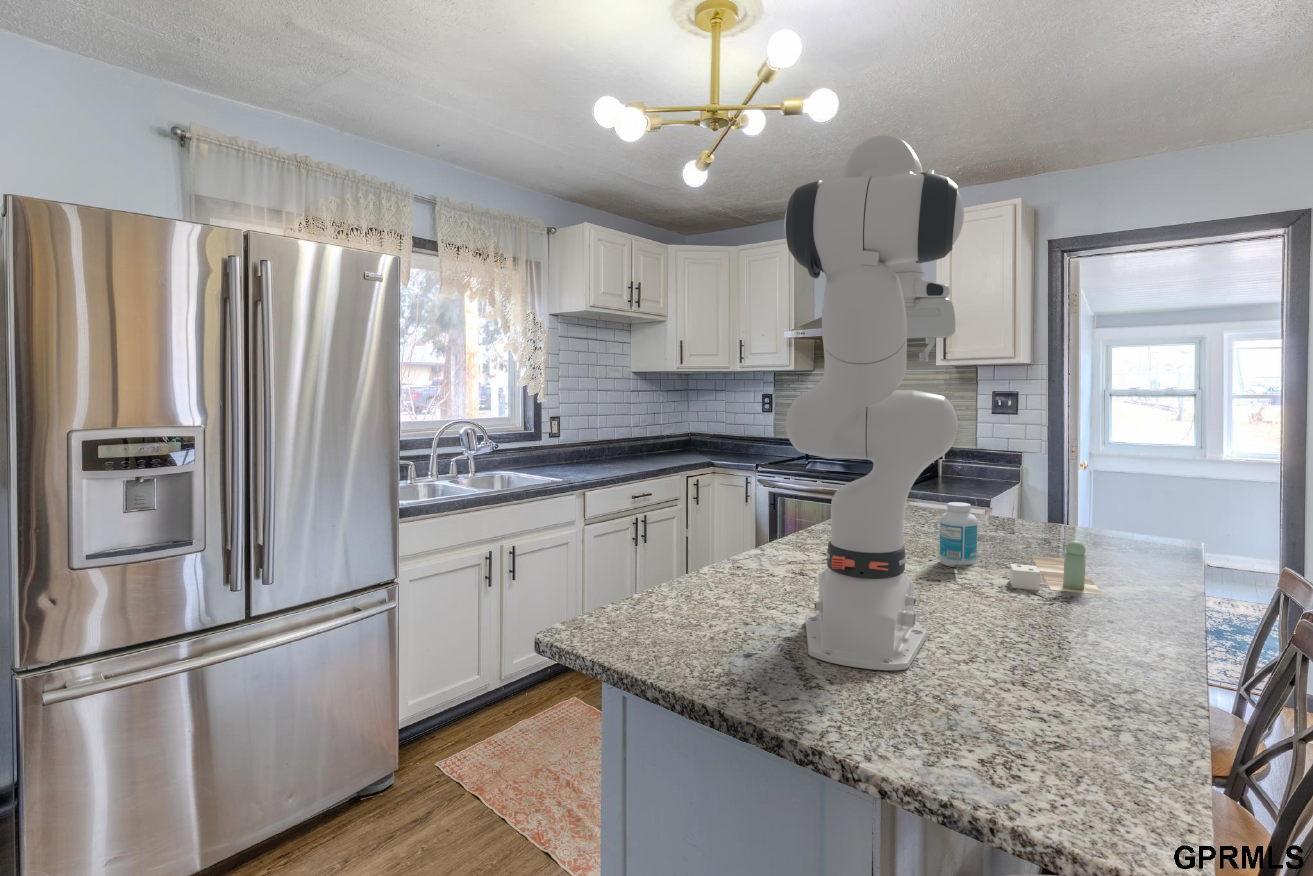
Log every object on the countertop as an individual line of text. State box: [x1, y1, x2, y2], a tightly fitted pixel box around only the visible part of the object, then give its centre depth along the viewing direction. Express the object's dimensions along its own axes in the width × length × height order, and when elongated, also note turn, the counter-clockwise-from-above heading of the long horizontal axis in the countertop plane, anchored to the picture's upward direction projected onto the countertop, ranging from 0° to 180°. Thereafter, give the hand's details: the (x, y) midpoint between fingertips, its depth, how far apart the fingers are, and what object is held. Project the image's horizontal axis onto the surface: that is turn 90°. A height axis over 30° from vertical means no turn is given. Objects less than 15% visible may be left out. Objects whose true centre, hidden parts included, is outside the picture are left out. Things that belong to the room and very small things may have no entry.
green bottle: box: [1063, 540, 1087, 590], centre depth 125 cm, size 3×3×9 cm
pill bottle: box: [939, 501, 978, 569], centre depth 144 cm, size 8×7×14 cm
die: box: [1009, 563, 1041, 591], centre depth 127 cm, size 4×4×5 cm
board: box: [1028, 555, 1104, 596], centre depth 134 cm, size 26×9×1 cm, turn 158°
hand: (898, 361), depth 130 cm, fingers open, 8 cm apart
